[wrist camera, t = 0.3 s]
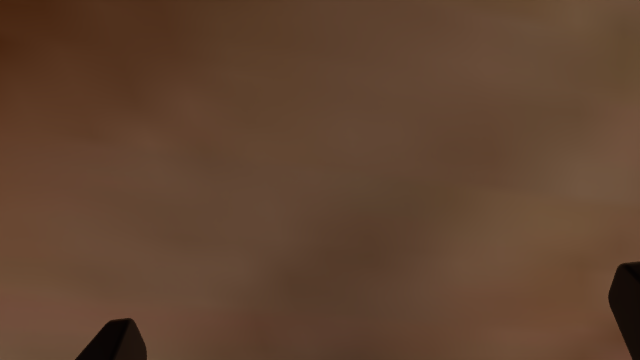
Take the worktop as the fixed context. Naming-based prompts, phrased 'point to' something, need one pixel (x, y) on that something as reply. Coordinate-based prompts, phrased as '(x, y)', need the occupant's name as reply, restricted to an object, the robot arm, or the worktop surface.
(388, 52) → the worktop surface
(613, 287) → the robot arm
